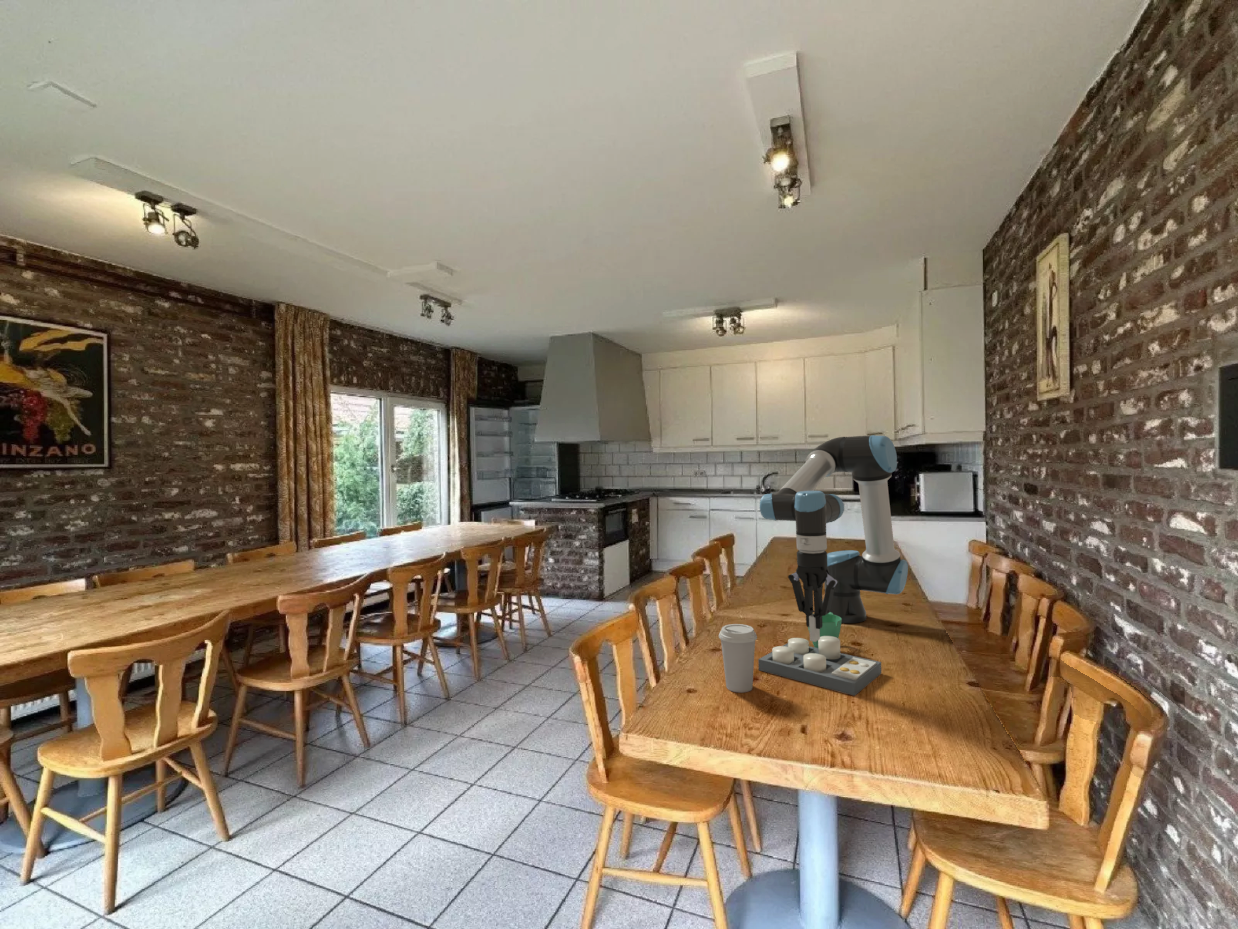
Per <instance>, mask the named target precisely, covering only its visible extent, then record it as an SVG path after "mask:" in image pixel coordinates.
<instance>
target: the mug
mask: <svg viewBox="0 0 1238 929" xmlns="http://www.w3.org/2000/svg"><path fill="white" fill-rule="evenodd" d="M822 624H823V626H822V628H820V637H821V636H833V637H837V638H839V637H840V634H841V629H842V628H841V627H842V623H841V618H840V617H839V616H837V615H834V614H833V613H831V612H829V613H828V614H827V615H825V616H822ZM807 629H808V632H809V634H810V631H809V627H807ZM839 639H840V638H839ZM811 643H812V645H813V647H815V648H818V641H816V642H813V641H811Z"/></svg>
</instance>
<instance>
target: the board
mask: <svg viewBox="0 0 1238 929" xmlns="http://www.w3.org/2000/svg"><path fill="white" fill-rule="evenodd" d="M782 646H786V647H788V642H787V643H785V644H783V645H782ZM809 653H816V654H819V648H815V647H814V646H810V645H809ZM809 653H807V654H809ZM803 656H804V655H801V654H796V653H794V662H792V663H791V664H789V665H787V664H783V663H779V662H775V661H773V654H772V651H771V652H769V653H767V654H765V655H763V656H762V657H760V658H758V671H761V672H764V673H768V674H772V675H776V676H779V677H783V678H786V679H791V680H795V681H798V682H801V683H806V684H810V685H813V686H817V687H821V688H823V689H824V688H825V689H827V690H830V691H835V692H838V693H842V694H846V695H850V696H854V697H855V696H856V695H857V694H859V693H860V692H861V691H863V689H865V688H866V687H867V686H868V685H869V684H870V683H872V682H873V681H875V679H876V678H878V677H879V676H881V674H882V661H878V660H872V659H869V658H864V657H859V656H857V655H850V654H847V653H841V652H840V656H841V657H840V658H839V659H826V670H825V671H824V672H822V673H819V672H815V671H811V670H807V669H804V660H803Z"/></svg>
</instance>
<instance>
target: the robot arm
mask: <svg viewBox="0 0 1238 929" xmlns="http://www.w3.org/2000/svg"><path fill="white" fill-rule="evenodd" d="M894 444H895V443H894V442H893V441H892V439H890V437H889V436H887V435H875V434H872V435H857V436H854V435H853V436H839V437H835V438H832V439H829V440H826V441H824V442H822V443H820V445H818V446H817V447H815V448H814V449H813V450H811V452H809V453H808V455H807V456H806V458H805V462H804V464H803V465H802V466H801V467H800V468H799V469H798V470H797V471H796V472H795V473H794V474H793V475H792V476H791V478H789V479H788V481H786V483H784V485H783V486H782V487H781V488H780V489H779V490H778V491H777V492H776V493H773V492H772V493H766V494H763V495H762V496H761V498H760V501H759V512H760V515H761V516H762V518H763V519H764V520H765V519H766V520H773V521H782V522H783V521H785V522H795V534H796V535H795V536H796V537H795V538H796V550H798V551H797V552H796V565H797V567H796V570H795V572H794V573H791V574H789V575H788V576H787V578H788V580H789V582H790V583H791V586H792V589H793V594H794V599H795V602H796V605H797V609H798V612H800V613H801V612H802V613H804V614H805V625H806V627H807V628H808V627H809V629H808V632H809V631H810V633H809V642H812V641H813V642H816V641H818V640H819V639H820V628H822V626H823V624H822V616H825V615H827V614H828V613H829V612H831V613H833V614H834V615H837V616H839V617H840V618H841V624H842V623H843V624H856V623H861V622H864V621H866V620H867V612H866V611H867V610H866V609H865V605H864V603H863V600H862V597H861V591H865V592H870V593H871V592H873V593H879V594H886V595H899V594H901V593H902V592H903V591H904V590H905V586H906V584H907V580H908V573H909V572H908V571H909V563H908V561H907V560H905V559H903V558H902V559H901V553H900V551H899V550H897V549H895V544H894V543H895V541H894V534H893V532H894V530H893V524H892V523H893V522H892V514H891V505H890V494H889V486H888V485H889V484H888V480H889V479H890V478H892V477H893V476H892V474H893V472H895V471H896V470H897V467H898V462H897V461H898V455H897V451H896V448H895V445H894ZM835 473H851V474H852V479H853V480H854V481H855V482H856V483H857V484H858V491H859V498H860V506H861V507H860V508H861V516H862V524H863V533H864V534H863V535H864V542H865V550H864V551H863V552H862V554H861V553H860V551H858V550H852V549H851V550H850V549H849V550H837V551H832V552H827V551H826V550H827V549H828V542H827V541H828V540H827V539H828V538H827V524H828V523H833V522H835V521H837V520H838V519H840V518H841V517H842V516H843V514H844V512H845V504H844V502H843V499H841V498H840V497H839V496H838V495H836V494H834V493H832V494H831V493H830V494H829V493H824V492H823V491H822V490H815V489H816V488H817V487H818V486H819V485H820V483H821V482H823V480H825V478H828V477H830V476H831V475H833V474H835ZM860 554H861V555H860ZM800 580H801V581H800ZM801 582H802V583H801ZM823 587H824V596H823ZM813 642H812V643H813Z"/></svg>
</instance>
